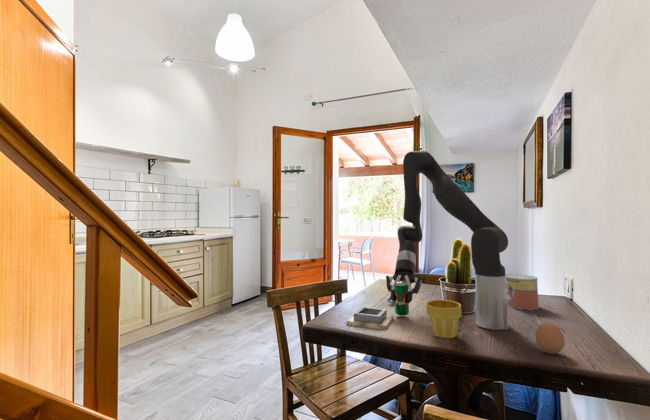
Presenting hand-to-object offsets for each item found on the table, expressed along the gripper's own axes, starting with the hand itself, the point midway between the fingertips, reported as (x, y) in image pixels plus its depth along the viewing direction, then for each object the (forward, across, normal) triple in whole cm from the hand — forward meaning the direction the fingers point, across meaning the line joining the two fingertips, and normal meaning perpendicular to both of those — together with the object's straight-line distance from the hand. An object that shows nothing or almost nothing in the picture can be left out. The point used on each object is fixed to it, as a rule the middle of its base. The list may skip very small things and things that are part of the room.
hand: (400, 301), depth 119 cm
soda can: (+3, 0, +5) cm, 6 cm away
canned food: (-20, +43, +30) cm, 55 cm away
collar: (+9, -9, -2) cm, 13 cm away
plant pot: (+13, +16, -4) cm, 21 cm away
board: (+10, -9, -2) cm, 14 cm away
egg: (+16, +43, -6) cm, 46 cm away
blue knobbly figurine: (-12, -7, +21) cm, 26 cm away
